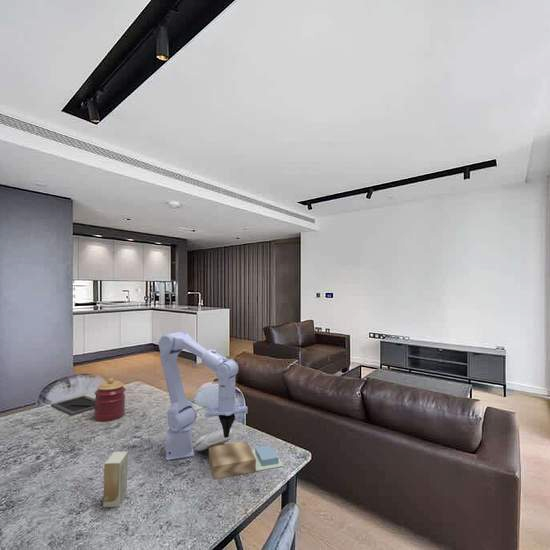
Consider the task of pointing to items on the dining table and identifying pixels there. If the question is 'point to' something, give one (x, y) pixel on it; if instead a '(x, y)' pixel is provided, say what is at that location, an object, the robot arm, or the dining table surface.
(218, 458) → the light brown flat block
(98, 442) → the dining table surface
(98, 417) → the canister
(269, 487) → the dining table surface
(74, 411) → the picture frame
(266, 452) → the blue box
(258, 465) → the mat
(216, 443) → the photo printer
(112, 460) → the skincare box
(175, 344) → the robot arm
